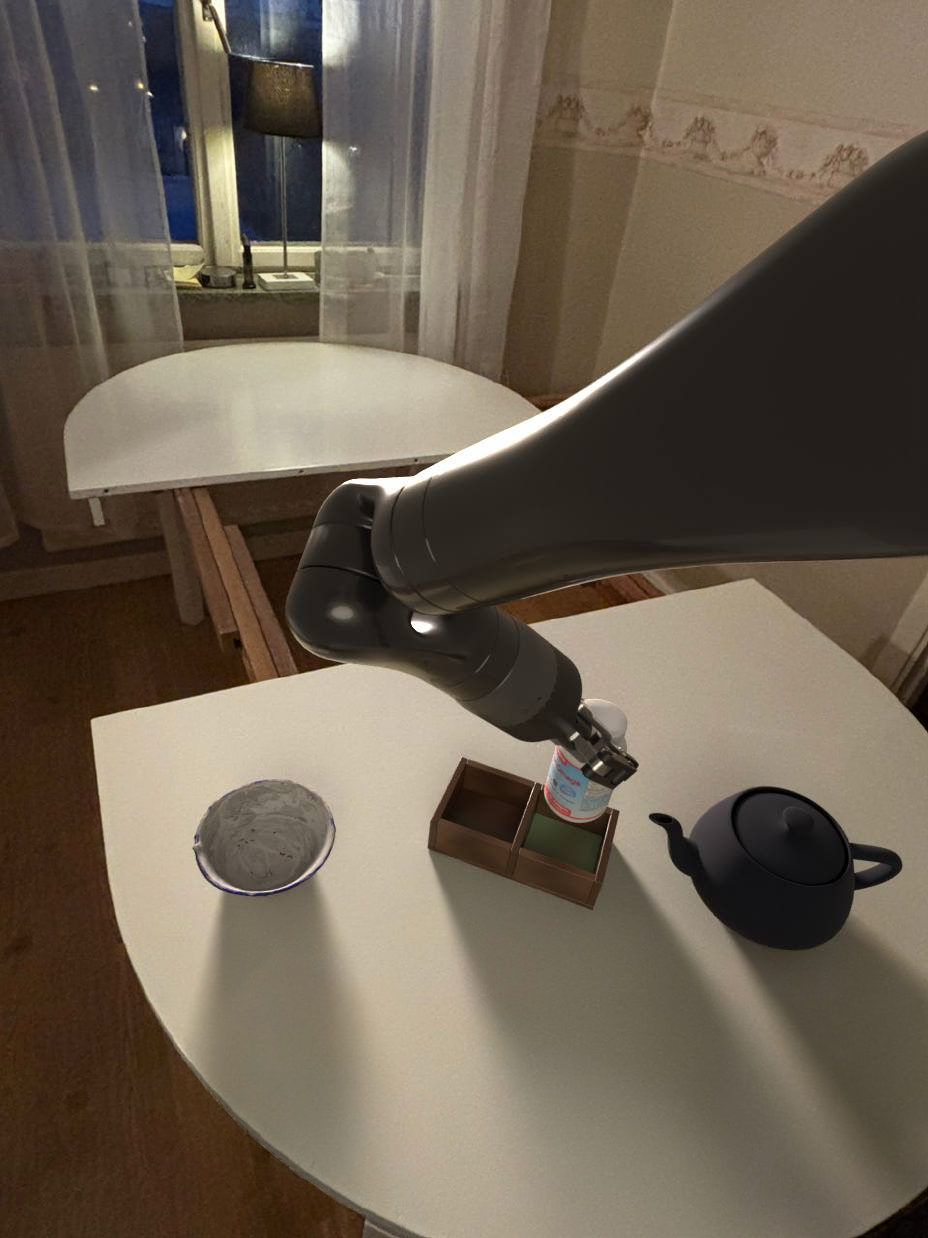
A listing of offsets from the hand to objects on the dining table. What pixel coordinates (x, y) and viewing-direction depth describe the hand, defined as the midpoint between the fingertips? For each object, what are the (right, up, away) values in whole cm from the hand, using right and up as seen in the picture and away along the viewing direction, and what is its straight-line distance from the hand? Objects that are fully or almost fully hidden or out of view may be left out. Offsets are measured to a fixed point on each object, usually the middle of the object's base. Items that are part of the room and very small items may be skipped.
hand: (607, 742), depth 66 cm
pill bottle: (-2, -6, +4) cm, 8 cm away
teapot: (+16, -17, +9) cm, 25 cm away
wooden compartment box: (-7, -12, +11) cm, 18 cm away
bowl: (-32, -13, +6) cm, 35 cm away
